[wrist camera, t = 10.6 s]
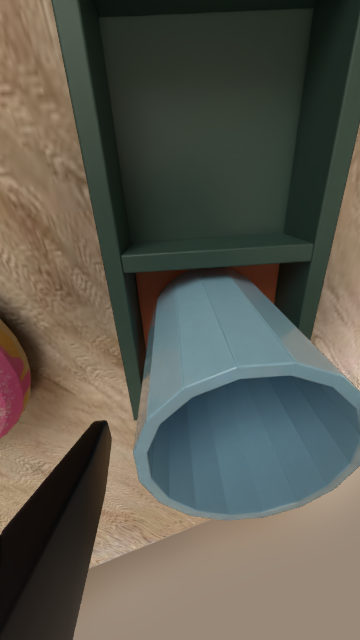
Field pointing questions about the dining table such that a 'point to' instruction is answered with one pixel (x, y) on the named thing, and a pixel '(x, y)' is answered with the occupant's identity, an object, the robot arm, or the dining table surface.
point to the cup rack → (212, 144)
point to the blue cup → (239, 404)
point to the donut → (12, 380)
